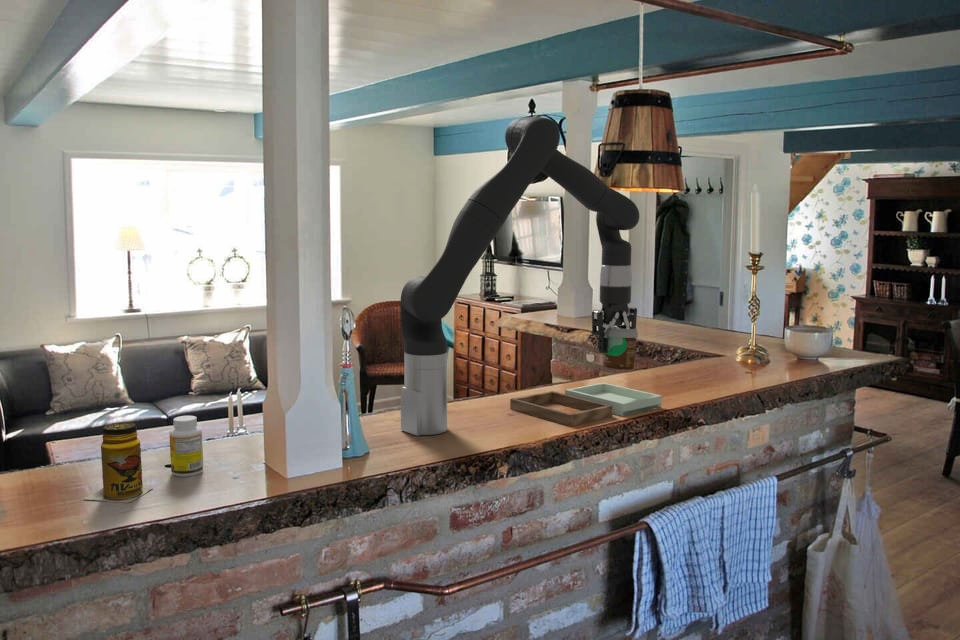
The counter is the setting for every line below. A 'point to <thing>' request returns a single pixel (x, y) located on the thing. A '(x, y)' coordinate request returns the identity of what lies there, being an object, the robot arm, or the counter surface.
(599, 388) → the sage tray
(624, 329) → the food container
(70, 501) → the counter surface
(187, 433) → the supplement bottle
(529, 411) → the walnut frame
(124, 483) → the condiment
